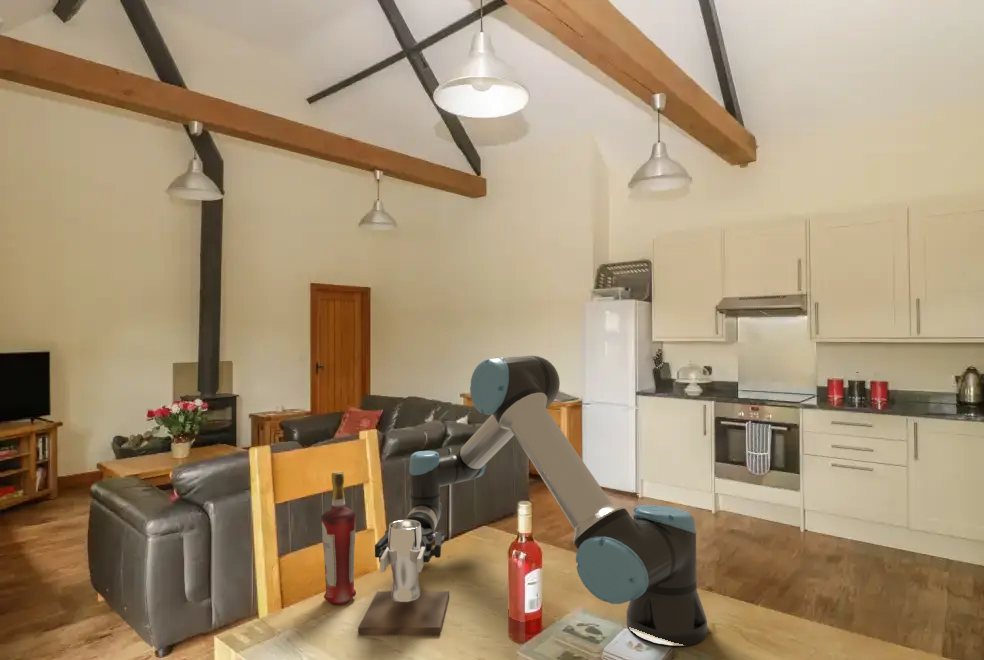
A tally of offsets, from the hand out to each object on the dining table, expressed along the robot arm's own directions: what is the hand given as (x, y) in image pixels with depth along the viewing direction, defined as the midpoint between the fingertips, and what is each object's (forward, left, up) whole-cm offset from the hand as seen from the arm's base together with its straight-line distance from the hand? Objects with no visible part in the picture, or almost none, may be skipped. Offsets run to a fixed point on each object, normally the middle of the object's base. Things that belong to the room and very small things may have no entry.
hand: (400, 565), depth 118 cm
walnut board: (0, -5, -12) cm, 13 cm away
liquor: (+16, -12, -12) cm, 24 cm away
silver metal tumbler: (0, -5, -9) cm, 10 cm away
